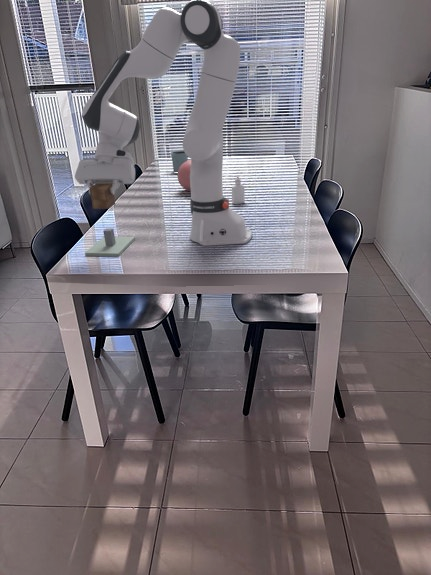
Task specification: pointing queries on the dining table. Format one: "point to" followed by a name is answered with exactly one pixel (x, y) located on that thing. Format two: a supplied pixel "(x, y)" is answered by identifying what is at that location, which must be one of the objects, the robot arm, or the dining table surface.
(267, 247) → the dining table surface
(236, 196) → the eye dropper bottle
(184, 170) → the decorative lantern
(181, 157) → the drinking glass
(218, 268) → the dining table surface
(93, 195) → the walnut cap
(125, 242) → the post board
